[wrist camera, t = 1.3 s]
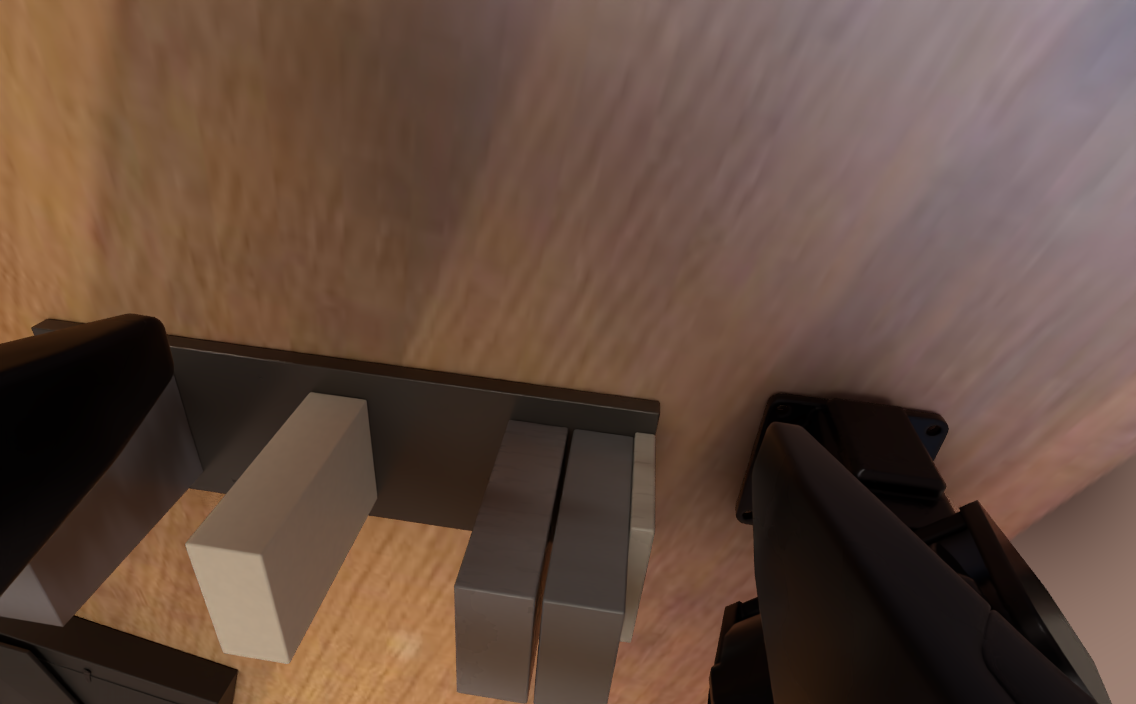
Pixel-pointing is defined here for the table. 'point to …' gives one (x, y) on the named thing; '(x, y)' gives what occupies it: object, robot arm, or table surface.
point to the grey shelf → (409, 500)
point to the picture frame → (101, 668)
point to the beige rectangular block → (286, 528)
